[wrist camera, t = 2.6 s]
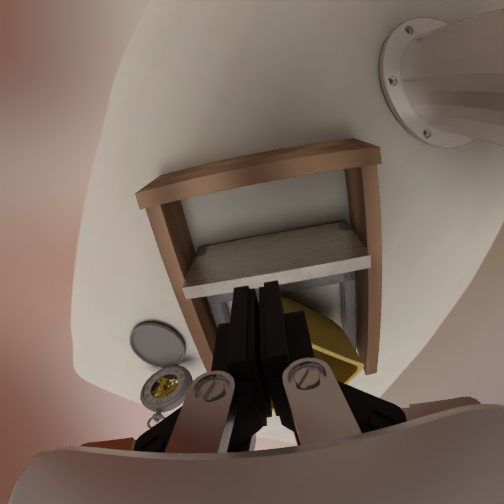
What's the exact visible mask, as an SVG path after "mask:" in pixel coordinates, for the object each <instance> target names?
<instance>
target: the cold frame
mask: <svg viewBox="0 0 504 504" xmlns="http://www.w3.org/2000/svg"><path fill="white" fill-rule="evenodd" d="M378 164H381V155H380V147H379V146H376V145H373V144H370V143H367V142H363V141H360V140H357V139H346V140H338V141H330V142H323V143H316V144H310V145H303V146H297V147H291V148H285V149H279V150H273V151H268V152H263V153H257V154H252V155H247V156H242V157H237V158H232V159H228V160H223V161H219V162H214V163H210V164H205V165H201V166H197V167H193V168H189V169H185V170H181V171H177V172H173V173H169V174H165V175H161V176H159V177H157V178H156V179H155V180H153V181H152V182H150V183H149V184H148V185H146V186H145V187H144V188H142V189H141V190H140V191H138V192H137V193H135V195H136V198H137V202H138V205H139V208H140V209H144V208H146V211H147V215H148V218H149V221H150V224H151V227H152V230H153V233H154V236H155V239H156V242H157V245H158V248H159V251H160V254H161V257H162V260H163V262H164V265H165V268H166V271H167V274H168V276H169V279H170V282H171V284H172V287H173V290H174V292H175V295H176V298H177V300H178V303H179V306H180V308H181V311H182V313H183V316H184V318H185V321H186V323H187V326H188V328H189V331H190V333H191V336H192V338H193V340H194V343H195V345H196V347H197V350H198V352H199V355H200V357H201V359H202V361H203V364H204V366H205V368H206V371H207V372H210V371H211V368H212V361H213V354H214V347H215V341H216V334H217V325H216V323H215V320H214V317H213V314H212V311H211V308H210V305H209V302H208V299H207V296H205V297H198V298H191V299H186V298H185V295H184V292H183V290H182V286H183V284H184V281H185V279H186V276H187V274H188V271H189V269H190V266H191V264H192V261H193V259H194V256H195V254H196V253H195V250H194V247H193V244H192V240H191V237H190V234H189V230H188V227H187V223H186V220H185V216H184V213H183V209H182V206H181V202H180V200H182V199H186V198H190V197H195V196H199V195H204V194H208V193H213V192H218V191H223V190H227V189H232V188H237V187H242V186H247V185H252V184H258V183H263V182H268V181H274V180H279V179H285V178H291V177H296V176H302V175H308V174H315V173H321V172H327V171H334V170H341V169H345V175H346V183H347V192H348V202H349V212H350V223H351V229H352V230H353V231H354V233H355V234H356V235H357V237H358V238H359V240H360V241H361V242H362V244H363V245H364V247H365V248H366V249H367V251H368V252H369V254H370V255H371V268H366V269H361V270H356V271H355V297H356V348H357V351H358V354H359V356H360V359H361V360H362V362H363V364H364V367H363V368H364V371H365V374H366V375H369V374H373V373H377V363H378V352H379V338H380V322H381V296H382V241H381V215H380V198H379V185H378V173H377V165H378Z"/></svg>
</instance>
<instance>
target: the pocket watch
mask: <svg viewBox="0 0 504 504" xmlns="http://www.w3.org/2000/svg"><path fill="white" fill-rule="evenodd" d="M130 345H131V348H132V350H133V351H134V353H135V354H136V355H137V356H138V357H139V358H141V359H142V360H143V361H145V362H147V363H148V364H151V365H154V366H158V367H163V369H161V370H159V371H157V372H156V373H155V374H153V375H152V376H151V377H150V378H149V379H148V380H147V381H146V383H145V384H144V386H143V387H142V391H141V401H142V404H143V405H144V406H145V407H146V408H148V409H149V410H151V411H153V412H156V414H154V415H153V416H152V418H150V419H149V420H148V422H147V426H148V427H149V428H150V429H151V428H152V427H151V426H150V425H149V423H150V421H151V420H152V419H154V421H155V422H159V420H160V419H162V418H163V419H165V417H163V415H162V414H161V412H166V411H170V410H172V409H174V408H176V407H177V406H179V405H180V404H181V403H183V402H184V401H185V398H186V395H187V393H188V390H189V388H190V386H191V384H192V382H193V380H192V376H191V374H190V372H189V371H188V370H187V369H186V368H185V367H182V366H178V364H179V363H180V362H181V361H182V360H183V358H184V355H185V345H184V342H183V340H182V339H181V337H180V336H179V335H178V334H177V333H176V332H175V331H173V330H172V329H170V328H169V327H167V326H165V325H161V324H158V323H144V324H140V325H138V326H137V327H136V328H135V329H134V330H133V331H132V333H131V336H130ZM173 379H175V380H173ZM169 380H173V381H171V382H169ZM176 380H178V384H177V383H175V382H176ZM172 382H173V383H174V384H173V385H171V384H172ZM166 384H167V385H166ZM170 385H171V386H170ZM168 386H170V387H168ZM159 387H160V389H158V388H159ZM156 392H157V394H159V395H157V396H155V395H156ZM160 392H161V393H160Z"/></svg>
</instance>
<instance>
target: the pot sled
mask: <svg viewBox="0 0 504 504" xmlns="http://www.w3.org/2000/svg"><path fill="white" fill-rule="evenodd" d="M366 268H371V255H370V254H369V252H368V251H367V249H366V248H365V247H364V245H363V244H362V242H361V241H360V240H359V238H358V237H357V235H356V234H355V233H354V231H353V230H352V229H351V227H350V226H349V225H348V223H347V222H346V221H342V222H336V223H331V224H325V225H319V226H313V227H308V228H302V229H296V230H291V231H285V232H280V233H274V234H268V235H263V236H257V237H252V238H246V239H241V240H235V241H230V242H225V243H219V244H214V245H209V246H203V247H198V249H197V251H196V254H195V256H194V259H193V261H192V264H191V266H190V269H189V271H188V274H187V276H186V279H185V281H184V284H183V286H182V290H183V292H184V295H185V298H186V299H191V298H198V297H205V296H207V299H208V302H209V305H210V308H211V311H212V314H213V317H214V320H215V323H216V325H217V328H218V325H219V324H222V323H229V322H230V317H229V313H228V310H227V307H226V304H225V302H229V301H233V292H234V288H235V287H241V286H247V285H248V286H249V288H250V289H252V288H255V291H256V295H257V297H259V287H264V283H265V282H270V281H276V280H278V282H279V287H280V293H285V292H291V291H296V290H302V289H308V288H313V287H319V286H324V285H329V284H335V283H341V299H342V319H343V331H344V332H345V333H346V335H347V336H348V338H349V340H350V341H351V343H352V345H353V346H354V348H355V350H356V297H355V271H356V270H361V269H366Z"/></svg>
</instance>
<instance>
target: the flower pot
mask: <svg viewBox="0 0 504 504" xmlns="http://www.w3.org/2000/svg"><path fill="white" fill-rule="evenodd" d="M281 298H282V303H283V309H284V314H285V313H291V312H296V311H302V310H304V312H305V317H306V321H307V326H308V330H309V335H310V339H311V344H312V348H313V353H314V358H317V359H320V360H323V361H324V362H326V363H327V364H328V365H329V367H330V368H331V370H332V372H333V374H334V376H335V378H336V380H337V381H340V382H342V383H344V384H348V383H349V382H350V381H351V380H352V379H353V378H354V377H355V376H356V375H357V374H358V373H359V372H360V371H361V370H362V369H363V367H364V364H363V362H362V360H361V359H360V357H359V355H358V353H357V352H356V350H355V348H354V346H353V345H352V343H351V341H350V340H349V338H348V336H347V335H346V333H345V332H344V331H343V330H342V328H341V327H340V326H338V325H337V324H336V323H335V322H333V321H332V320H331V319H329V318H327V317H326V316H324V315H322V314H320V313H318V312H316V311H314V310H312V309H310V308H308V307H306V306H303V305H301V304H299V303H297V302H295V301H293V300H291V299H289V298H287V297H285V296H281ZM271 405H272V411H274V412H275V410H274V406H273V402H272V399H271Z"/></svg>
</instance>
